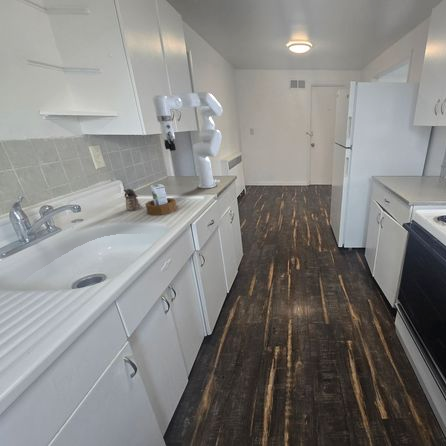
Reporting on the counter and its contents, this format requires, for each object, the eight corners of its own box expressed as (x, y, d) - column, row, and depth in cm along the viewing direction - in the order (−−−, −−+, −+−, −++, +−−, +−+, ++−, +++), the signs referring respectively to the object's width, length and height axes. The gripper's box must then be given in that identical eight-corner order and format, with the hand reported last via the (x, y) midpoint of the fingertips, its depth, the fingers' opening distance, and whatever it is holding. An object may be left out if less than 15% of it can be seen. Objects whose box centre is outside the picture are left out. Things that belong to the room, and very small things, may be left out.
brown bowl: (172, 204, 153) (171, 196, 151) (179, 210, 142) (178, 202, 140) (145, 209, 144) (143, 201, 142) (151, 217, 134) (148, 208, 132)
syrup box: (155, 210, 143) (149, 185, 138) (166, 207, 147) (160, 183, 141) (158, 212, 139) (152, 187, 134) (170, 210, 143) (164, 185, 138)
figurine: (143, 208, 147) (138, 188, 142) (130, 211, 142) (124, 191, 137) (137, 205, 151) (132, 186, 146) (124, 209, 145) (118, 189, 141)
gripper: (175, 119, 143) (181, 150, 149) (167, 119, 155) (173, 148, 162) (161, 119, 138) (167, 151, 145) (154, 119, 151) (160, 149, 157)
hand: (170, 149), depth 153 cm, fingers open, 9 cm apart
